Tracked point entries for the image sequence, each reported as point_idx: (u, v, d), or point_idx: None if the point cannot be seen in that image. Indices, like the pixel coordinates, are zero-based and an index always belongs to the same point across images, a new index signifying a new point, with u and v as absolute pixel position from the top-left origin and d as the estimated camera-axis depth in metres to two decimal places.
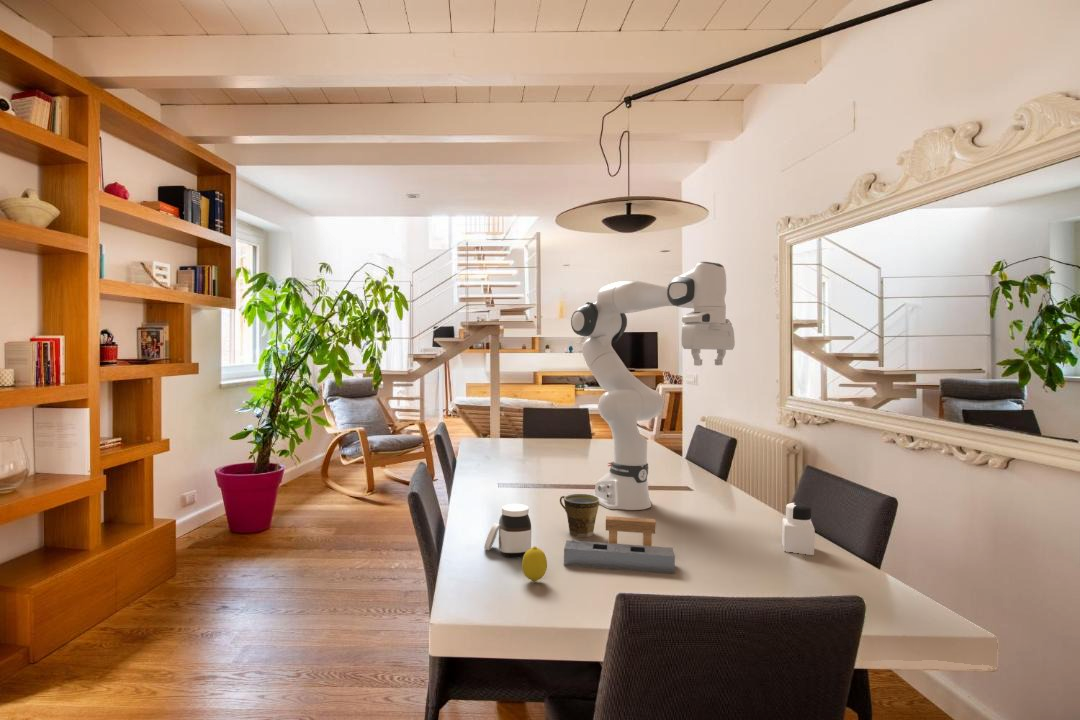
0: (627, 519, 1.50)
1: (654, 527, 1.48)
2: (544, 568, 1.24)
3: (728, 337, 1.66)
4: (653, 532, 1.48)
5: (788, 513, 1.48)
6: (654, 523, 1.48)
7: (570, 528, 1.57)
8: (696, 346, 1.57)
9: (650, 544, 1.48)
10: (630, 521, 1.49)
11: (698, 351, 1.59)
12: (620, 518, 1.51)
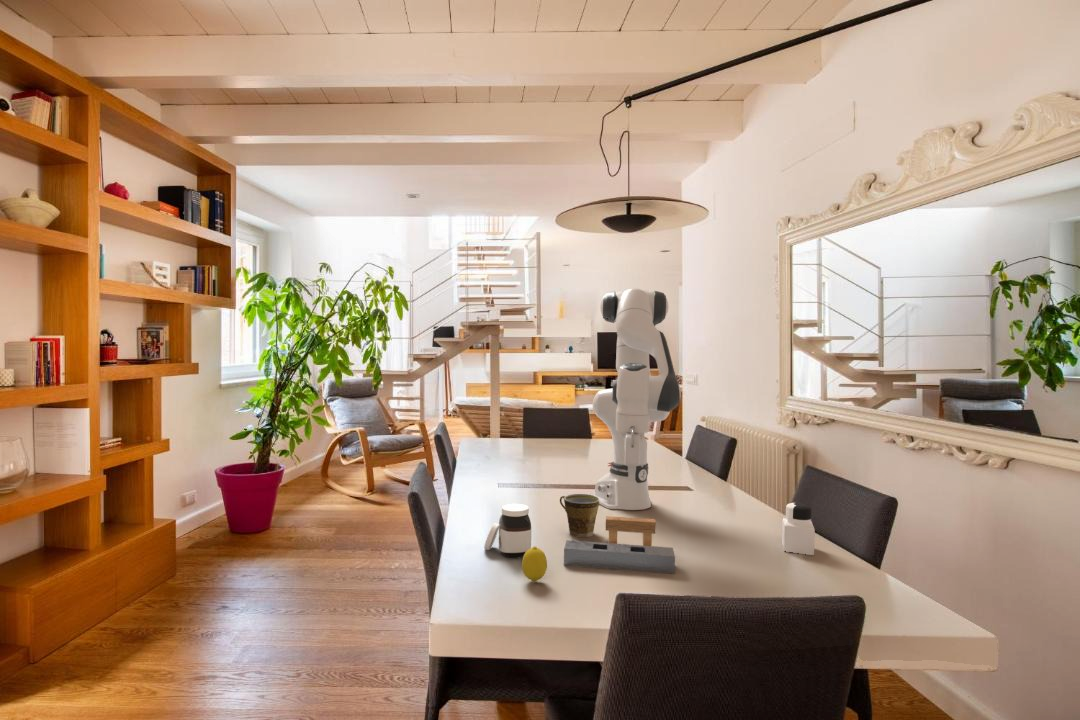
0: (627, 519, 1.50)
1: (654, 527, 1.48)
2: (544, 568, 1.24)
3: None
4: (653, 532, 1.48)
5: (788, 513, 1.48)
6: (654, 523, 1.48)
7: (570, 528, 1.57)
8: None
9: (650, 544, 1.48)
10: (630, 521, 1.49)
11: None
12: (620, 518, 1.51)
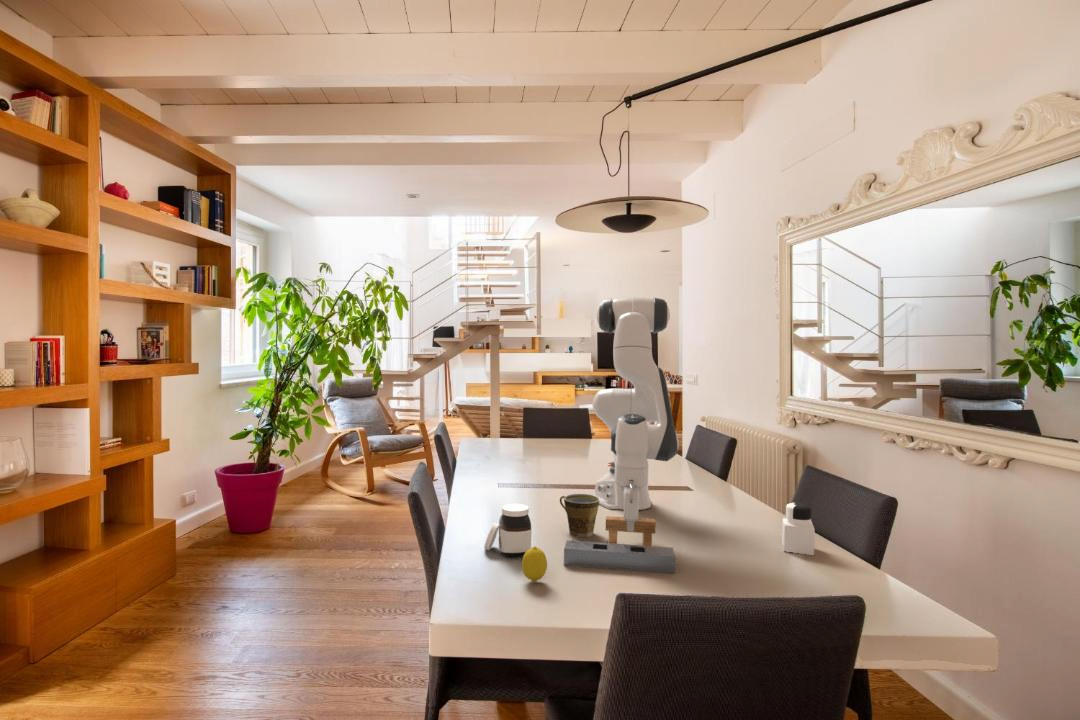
0: None
1: (654, 527, 1.48)
2: (544, 568, 1.24)
3: None
4: (653, 532, 1.48)
5: (788, 513, 1.48)
6: (654, 523, 1.48)
7: (570, 528, 1.57)
8: None
9: (650, 544, 1.48)
10: None
11: None
12: (620, 518, 1.51)
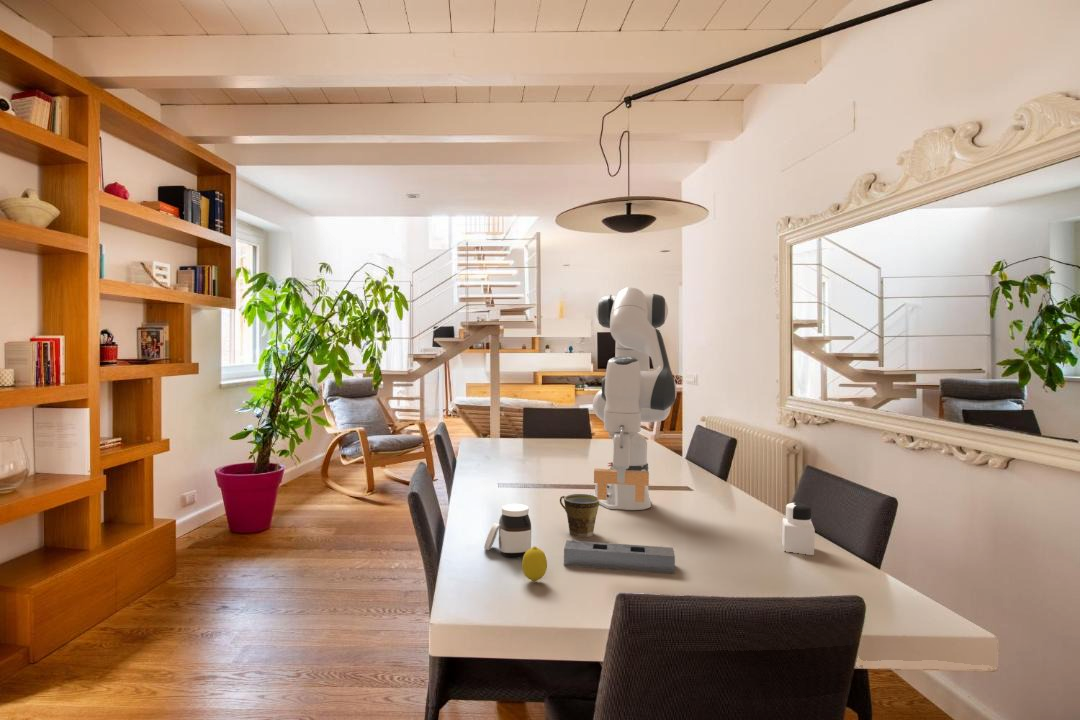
0: None
1: (647, 478, 1.34)
2: (544, 568, 1.24)
3: None
4: (646, 484, 1.34)
5: (788, 513, 1.48)
6: (647, 474, 1.34)
7: (570, 528, 1.57)
8: None
9: (643, 498, 1.35)
10: None
11: None
12: (610, 470, 1.37)
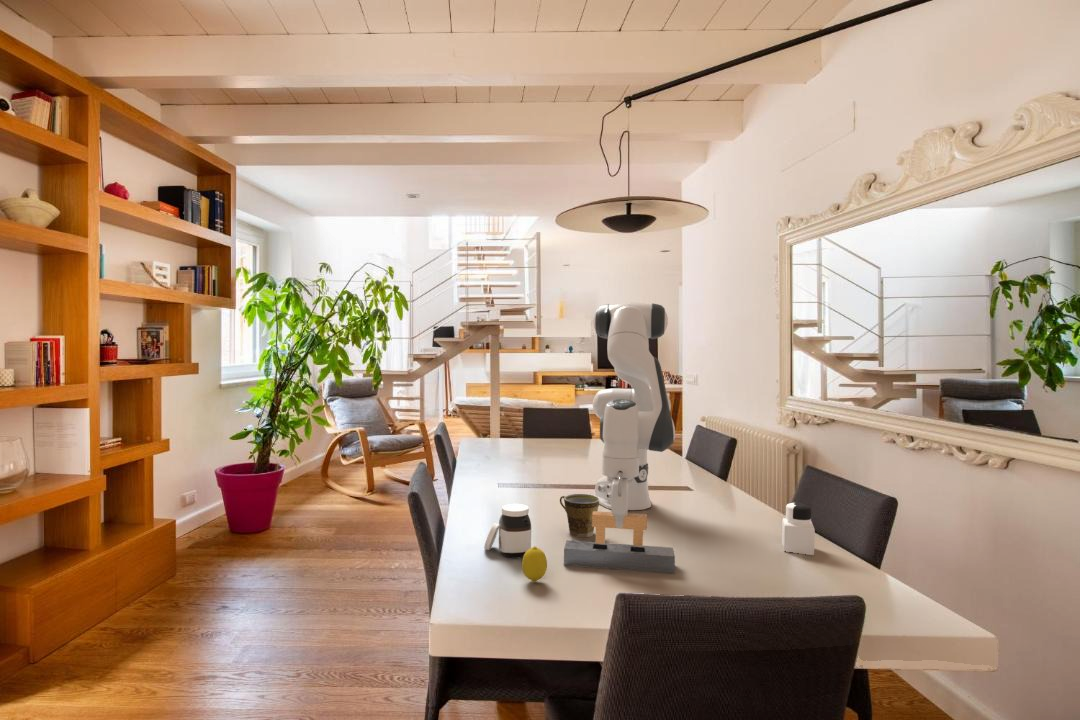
0: None
1: (645, 523, 1.34)
2: (544, 568, 1.24)
3: None
4: (644, 529, 1.34)
5: (788, 513, 1.48)
6: (645, 519, 1.34)
7: (570, 528, 1.57)
8: None
9: (641, 542, 1.35)
10: None
11: None
12: (608, 513, 1.37)
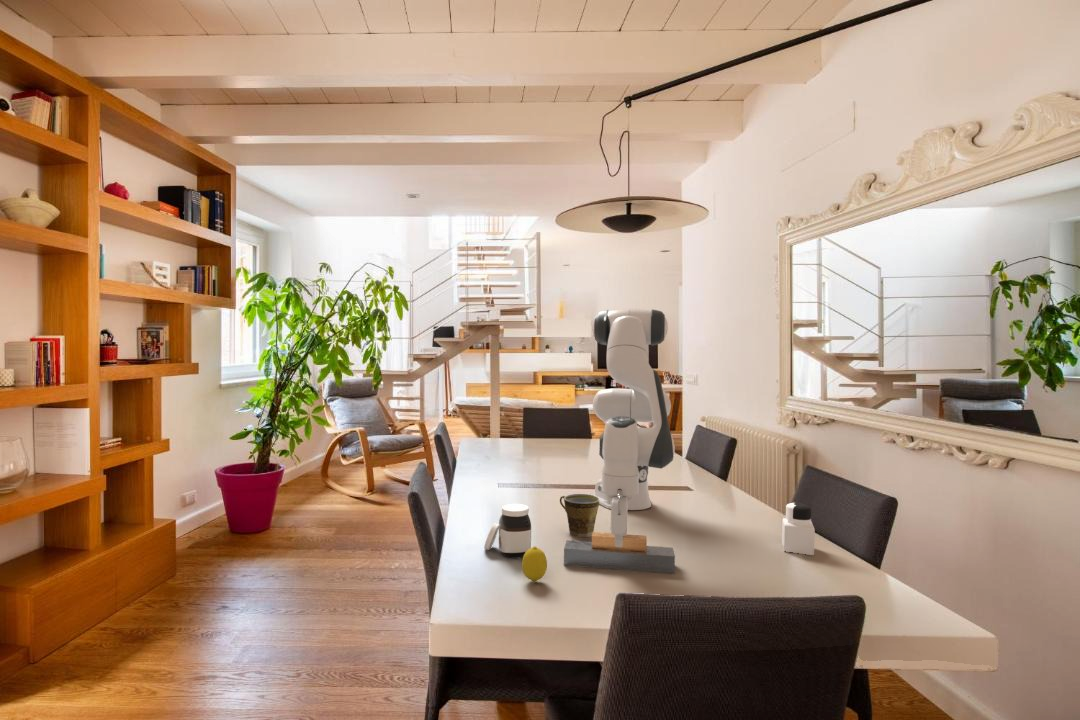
0: None
1: (644, 544, 1.34)
2: (544, 568, 1.24)
3: None
4: (644, 550, 1.34)
5: (788, 513, 1.48)
6: (645, 540, 1.34)
7: (570, 528, 1.57)
8: None
9: None
10: None
11: None
12: (608, 534, 1.37)
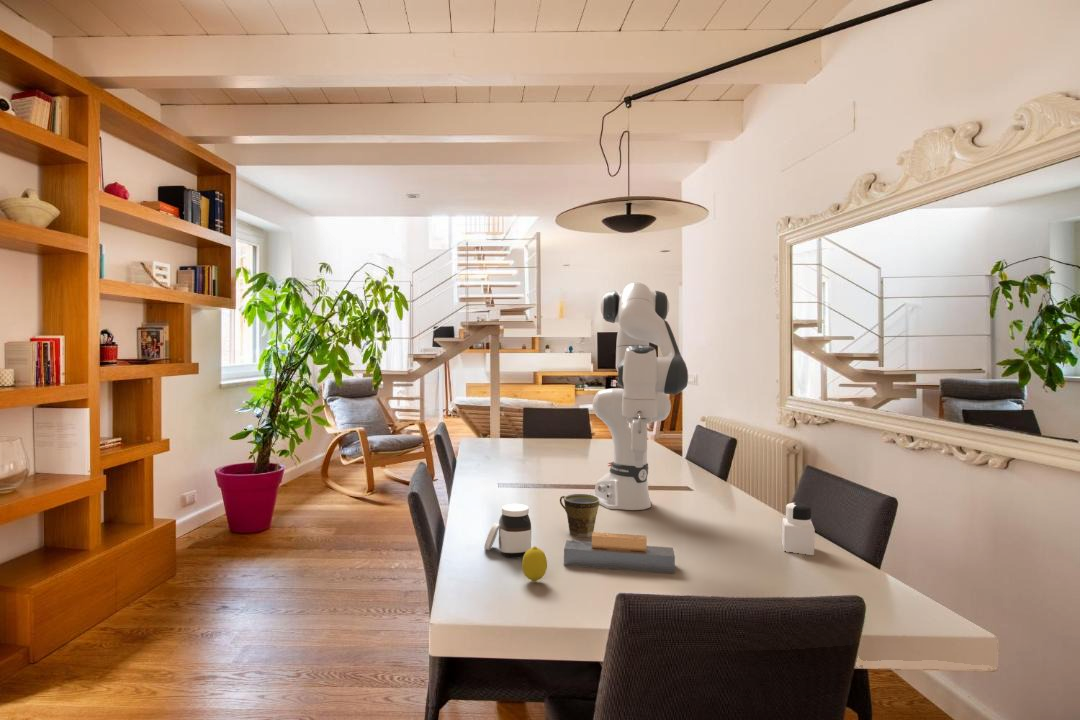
0: (615, 536, 1.36)
1: (644, 544, 1.34)
2: (544, 568, 1.24)
3: None
4: (644, 550, 1.34)
5: (788, 513, 1.48)
6: (645, 540, 1.34)
7: (570, 528, 1.57)
8: (631, 435, 1.52)
9: None
10: (618, 538, 1.35)
11: None
12: (608, 534, 1.37)
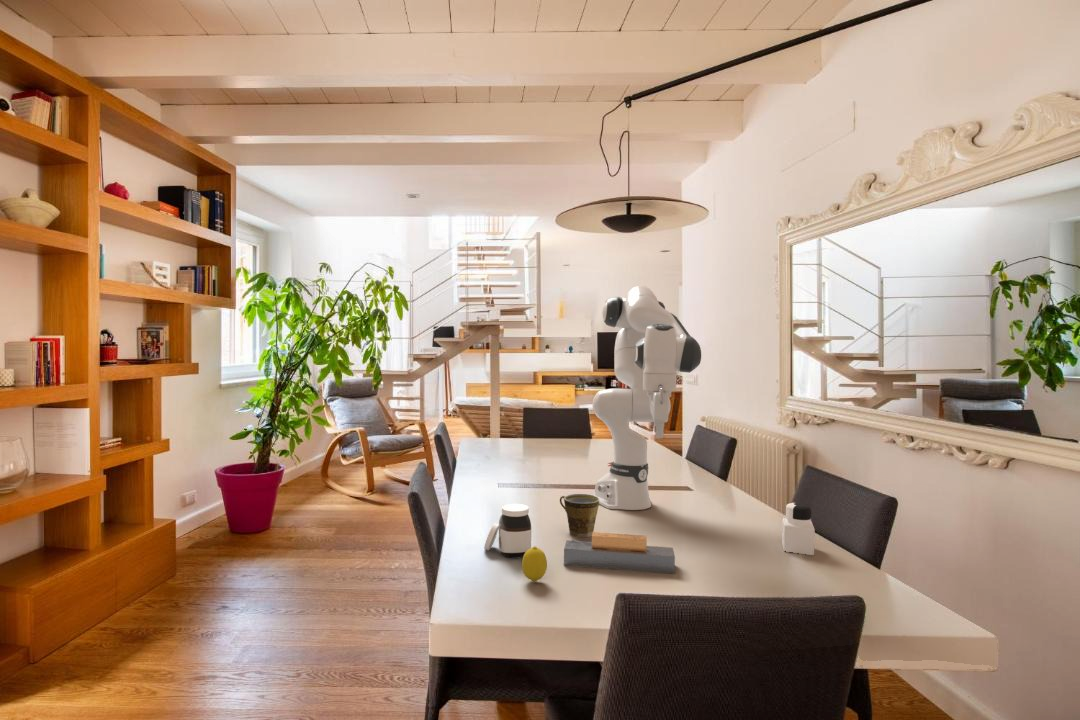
0: (615, 536, 1.36)
1: (644, 544, 1.34)
2: (544, 568, 1.24)
3: (653, 406, 1.46)
4: (644, 550, 1.34)
5: (788, 513, 1.48)
6: (645, 540, 1.34)
7: (570, 528, 1.57)
8: (650, 411, 1.61)
9: None
10: (618, 538, 1.35)
11: None
12: (608, 534, 1.37)
